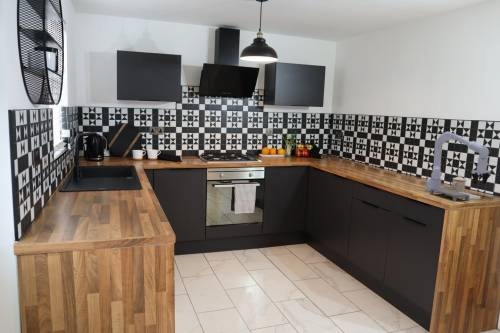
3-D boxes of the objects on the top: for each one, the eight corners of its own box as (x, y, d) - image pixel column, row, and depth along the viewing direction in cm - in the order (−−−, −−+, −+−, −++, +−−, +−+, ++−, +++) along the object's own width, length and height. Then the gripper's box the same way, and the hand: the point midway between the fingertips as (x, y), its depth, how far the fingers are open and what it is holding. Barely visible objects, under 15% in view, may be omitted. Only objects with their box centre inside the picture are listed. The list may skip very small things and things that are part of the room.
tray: (462, 194, 278) (463, 191, 278) (480, 199, 264) (480, 196, 264) (449, 194, 275) (449, 192, 275) (466, 199, 261) (466, 196, 260)
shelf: (443, 193, 278) (444, 188, 277) (468, 201, 257) (469, 195, 256) (429, 194, 274) (430, 188, 274) (454, 201, 253) (455, 195, 253)
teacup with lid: (454, 189, 298) (456, 174, 296) (466, 191, 291) (468, 176, 289) (446, 190, 291) (448, 175, 289) (459, 193, 284) (461, 177, 282)
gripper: (478, 165, 263) (476, 185, 265) (495, 165, 267) (492, 184, 269) (470, 163, 270) (467, 183, 272) (486, 163, 274) (483, 182, 276)
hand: (479, 183), depth 271 cm, fingers open, 7 cm apart
